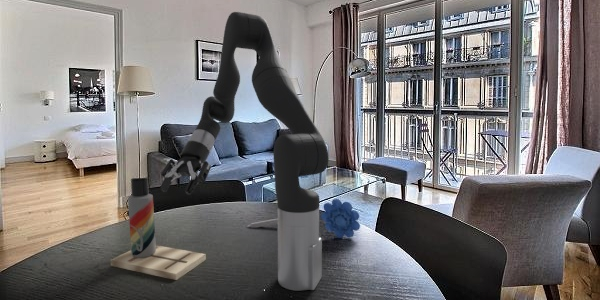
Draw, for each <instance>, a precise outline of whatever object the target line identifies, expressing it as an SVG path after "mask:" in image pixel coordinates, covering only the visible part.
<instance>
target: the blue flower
mask: <svg viewBox="0 0 600 300" xmlns="http://www.w3.org/2000/svg"><path fill="white" fill-rule="evenodd" d="M323 210H324V211H323V212H321V214H320V218H321V220H322V221H323V222H325V225H324V228H325V230H326V231H328V232H329V233H332V232H333V234H334V235H335V236H336V237H337V238H338V239H342V238H344V236H345V237H346V238H352V237H354V235H355V231H359V230H360V228H361V225H360V223H359V222H358V220H359V219H360V214H359V212H358V211H357V210H356V209H353V206H352V204H351V202H348V201H344V202H342V201H341V200H340V199H339V198H334V199H332V201H331V203H330V202H325V203H324V204H323Z"/></svg>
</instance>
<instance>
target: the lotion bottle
mask: <svg viewBox="0 0 600 300" xmlns="http://www.w3.org/2000/svg"><path fill="white" fill-rule="evenodd" d="M130 189H131V195H130V196H128V198H127V203H128V207H127V208H128V221H129V236H130V250H131V252H132V256H133V257H135V258H144V257H148V256H151V255H153V254H154V253H155V252H156V245H157V243H156V230H155V229H156V228H155V212H154V211H155V210H154V209H155V208H154V196H153V194H151V193H149V191H150V190H149V178H148V177H136V178H135V177H133V178H130Z"/></svg>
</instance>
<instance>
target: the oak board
mask: <svg viewBox="0 0 600 300" xmlns="http://www.w3.org/2000/svg"><path fill="white" fill-rule="evenodd" d="M206 260H207V256H206V253H202V252H195V251H190V250H185V249H180V248H174V247H169V246H162V245H157V244H156V252H155V253H154V254H153V255H151V256H148V257H144V258H135V257H133V256H132V252H131V249H130V250H128V251H126V252H124V253H122V254H120V255H118V256H115V257H114V258H112V259H110V266H111V267H115V268H120V269H124V270H128V271H133V272H138V273H142V274H146V275H151V276H156V277H161V278H165V279H170V280H176V281H177V280H179V279H180V278H182V277H183V276H185V275H186V274H187V273H188V272H190V271H192V270H193V269H195V268H196V267H198V266H199V265H201V264H202V263H203V262H205V261H206Z"/></svg>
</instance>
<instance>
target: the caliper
mask: <svg viewBox="0 0 600 300" xmlns="http://www.w3.org/2000/svg"><path fill="white" fill-rule="evenodd" d="M271 225H278V218H273V219H272V218H271V219H267V220H262V221H256V222H251V223H250V224H248V225H247V226H246V228H251V229H252V228H262V227H267V226H271Z"/></svg>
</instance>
